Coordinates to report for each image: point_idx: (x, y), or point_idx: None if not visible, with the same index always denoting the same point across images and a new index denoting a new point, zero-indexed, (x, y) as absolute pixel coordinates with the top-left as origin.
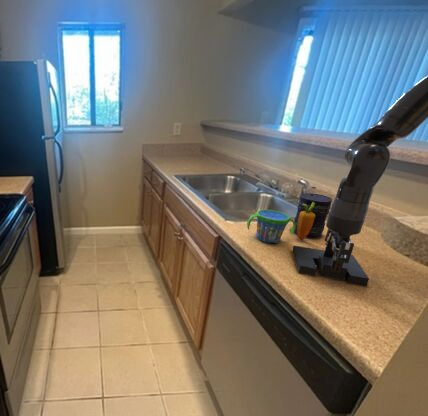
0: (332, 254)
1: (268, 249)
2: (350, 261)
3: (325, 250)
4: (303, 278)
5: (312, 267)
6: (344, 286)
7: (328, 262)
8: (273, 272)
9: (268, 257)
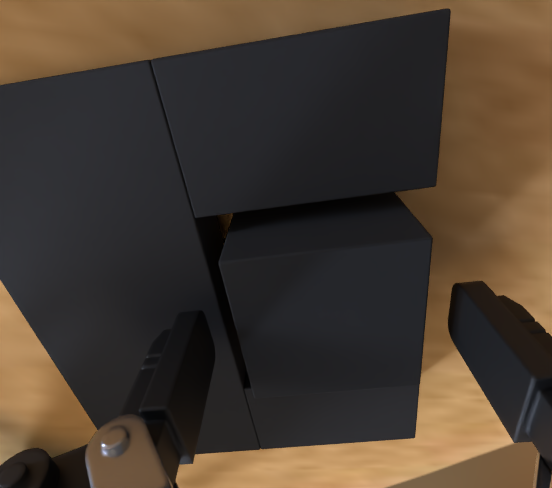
0: (194, 345)
1: (197, 481)
2: (102, 151)
3: (200, 416)
4: (456, 373)
5: (409, 393)
6: (477, 188)
7: (361, 358)
8: (444, 461)
9: (292, 478)
